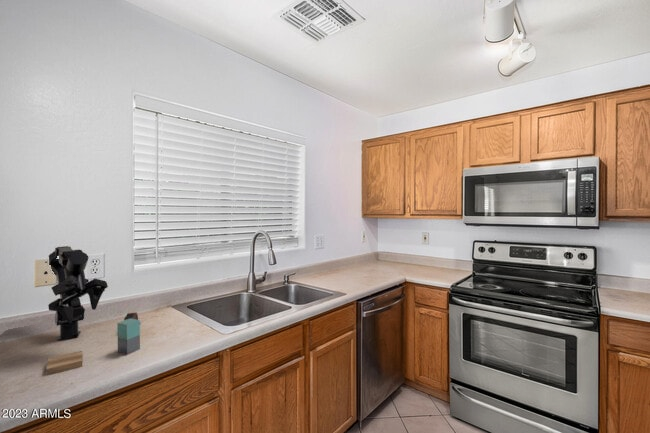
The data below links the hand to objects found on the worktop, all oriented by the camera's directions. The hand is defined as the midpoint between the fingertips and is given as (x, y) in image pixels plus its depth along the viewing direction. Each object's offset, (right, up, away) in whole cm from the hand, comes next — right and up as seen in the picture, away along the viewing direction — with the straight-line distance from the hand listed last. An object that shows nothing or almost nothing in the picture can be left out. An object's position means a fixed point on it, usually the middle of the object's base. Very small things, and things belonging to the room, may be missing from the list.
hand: (82, 316), depth 110 cm
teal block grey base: (+15, -14, +4) cm, 21 cm away
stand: (0, -14, -7) cm, 16 cm away
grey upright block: (+3, -14, +24) cm, 28 cm away
